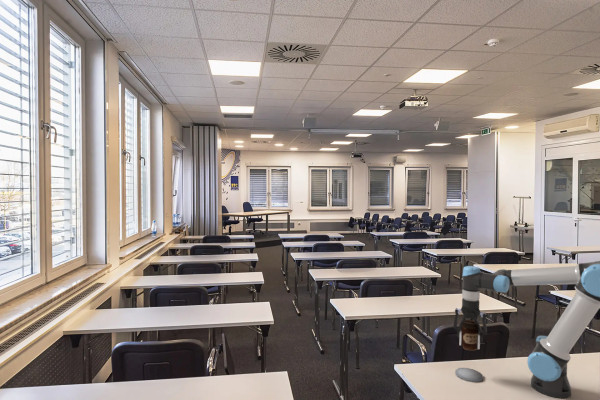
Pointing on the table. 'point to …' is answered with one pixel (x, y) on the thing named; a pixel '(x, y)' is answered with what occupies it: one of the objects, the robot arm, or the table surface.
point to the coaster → (469, 374)
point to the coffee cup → (469, 335)
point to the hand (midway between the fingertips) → (469, 346)
